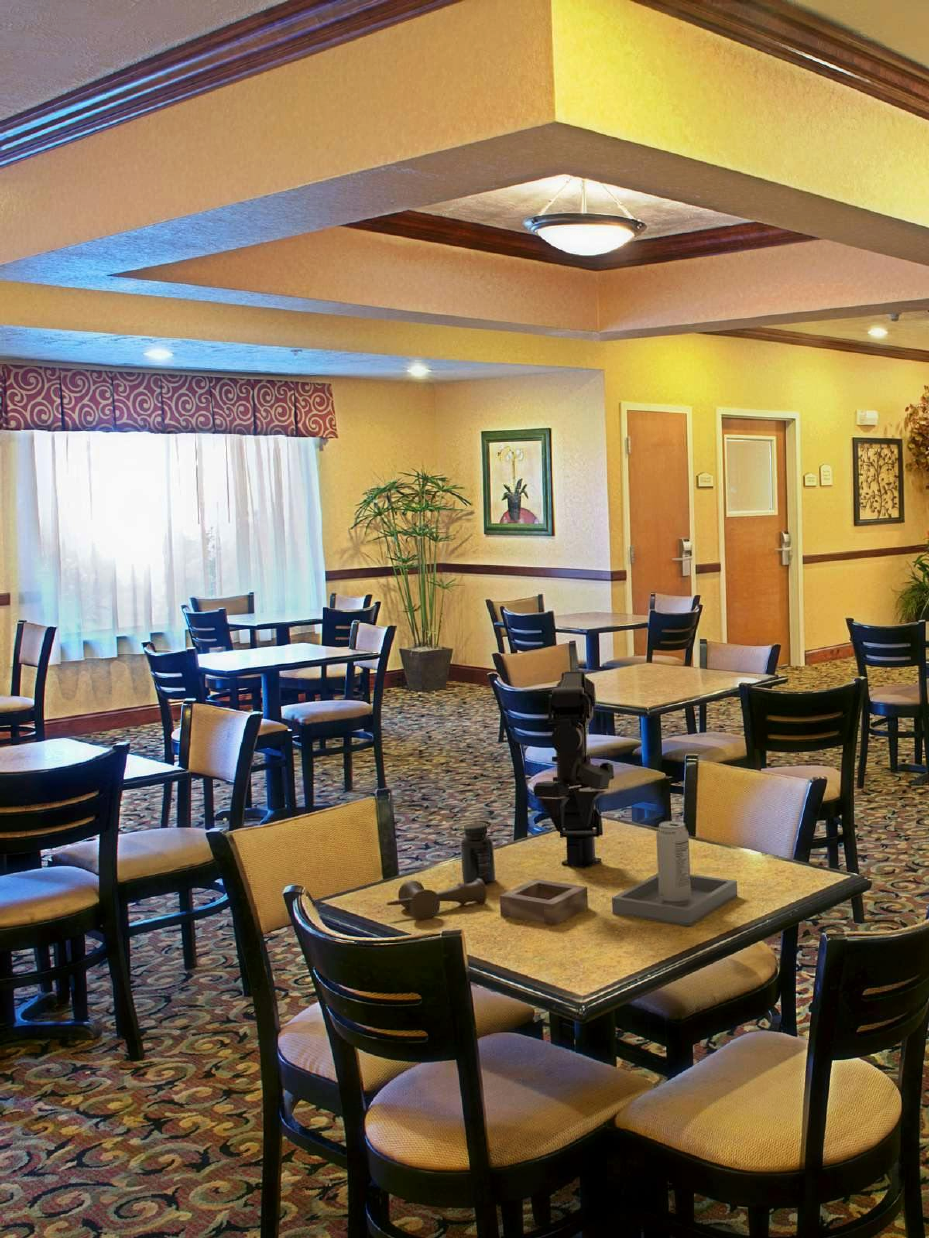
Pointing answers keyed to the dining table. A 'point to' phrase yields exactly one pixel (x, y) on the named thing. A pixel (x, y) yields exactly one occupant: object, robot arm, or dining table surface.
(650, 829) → the dining table surface
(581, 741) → the robot arm
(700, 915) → the parts tray
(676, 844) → the energy drink can
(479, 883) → the kendama
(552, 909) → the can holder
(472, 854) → the supplement bottle
